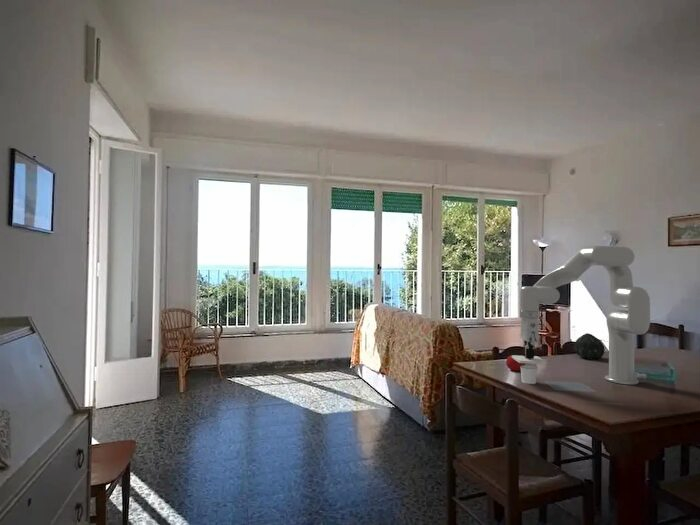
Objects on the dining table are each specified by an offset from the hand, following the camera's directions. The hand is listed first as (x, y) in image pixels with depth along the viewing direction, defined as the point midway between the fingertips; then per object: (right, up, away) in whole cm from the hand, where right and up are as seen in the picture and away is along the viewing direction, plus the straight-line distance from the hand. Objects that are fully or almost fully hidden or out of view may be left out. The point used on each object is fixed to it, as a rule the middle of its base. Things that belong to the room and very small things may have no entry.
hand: (528, 356), depth 180 cm
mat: (+14, -11, -6) cm, 19 cm away
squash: (+58, -13, +54) cm, 81 cm away
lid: (0, -2, 0) cm, 2 cm away
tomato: (+3, -12, +23) cm, 26 cm away
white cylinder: (0, -12, 0) cm, 12 cm away
